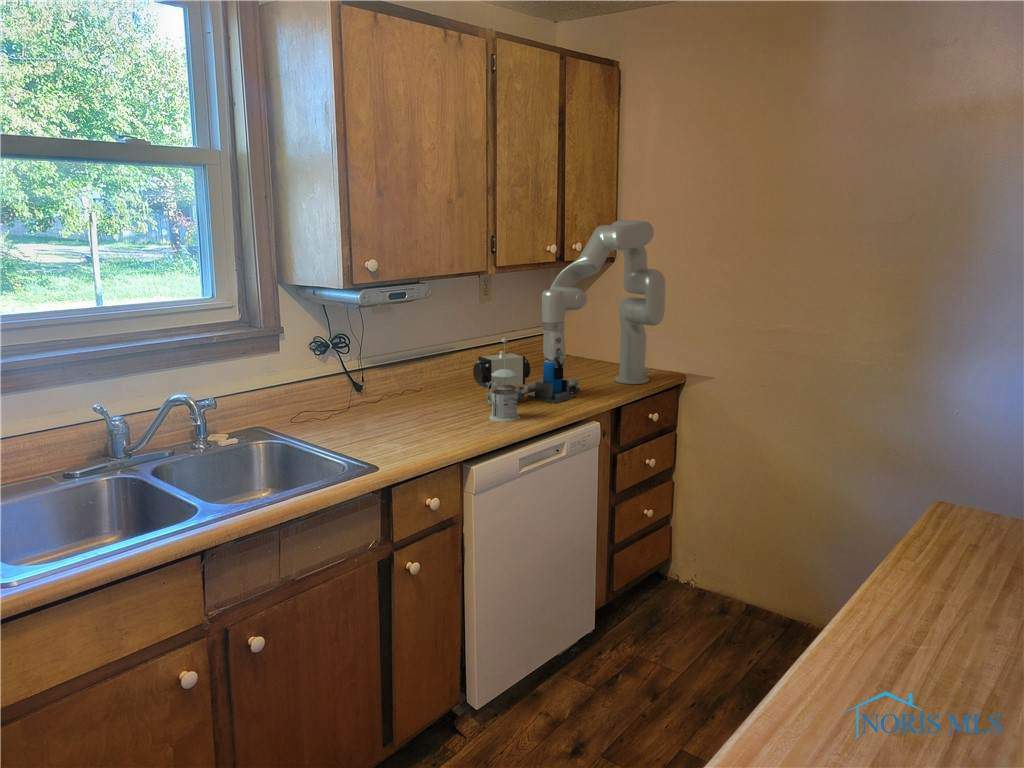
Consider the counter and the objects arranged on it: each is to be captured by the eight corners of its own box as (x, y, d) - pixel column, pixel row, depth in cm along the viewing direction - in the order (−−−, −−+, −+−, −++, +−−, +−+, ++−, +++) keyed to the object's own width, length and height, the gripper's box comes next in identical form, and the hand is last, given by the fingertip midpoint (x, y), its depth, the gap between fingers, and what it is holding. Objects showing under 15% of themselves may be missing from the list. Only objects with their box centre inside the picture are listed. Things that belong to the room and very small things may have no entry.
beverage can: (549, 391, 266) (549, 357, 263) (565, 394, 262) (565, 360, 259) (539, 395, 261) (539, 360, 258) (555, 397, 257) (555, 363, 254)
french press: (526, 417, 236) (527, 338, 230) (499, 424, 228) (499, 342, 222) (504, 411, 243) (505, 334, 237) (477, 418, 235) (477, 338, 229)
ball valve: (517, 397, 261) (518, 346, 257) (530, 403, 254) (531, 350, 250) (471, 404, 252) (470, 351, 248) (483, 409, 245) (482, 355, 241)
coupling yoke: (555, 387, 276) (555, 371, 275) (588, 394, 267) (588, 377, 265) (510, 399, 259) (510, 381, 258) (543, 406, 249) (543, 388, 248)
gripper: (573, 329, 249) (573, 380, 253) (554, 322, 265) (555, 370, 269) (551, 331, 247) (551, 382, 251) (534, 323, 263) (535, 371, 267)
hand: (553, 376), depth 260 cm, fingers open, 9 cm apart
